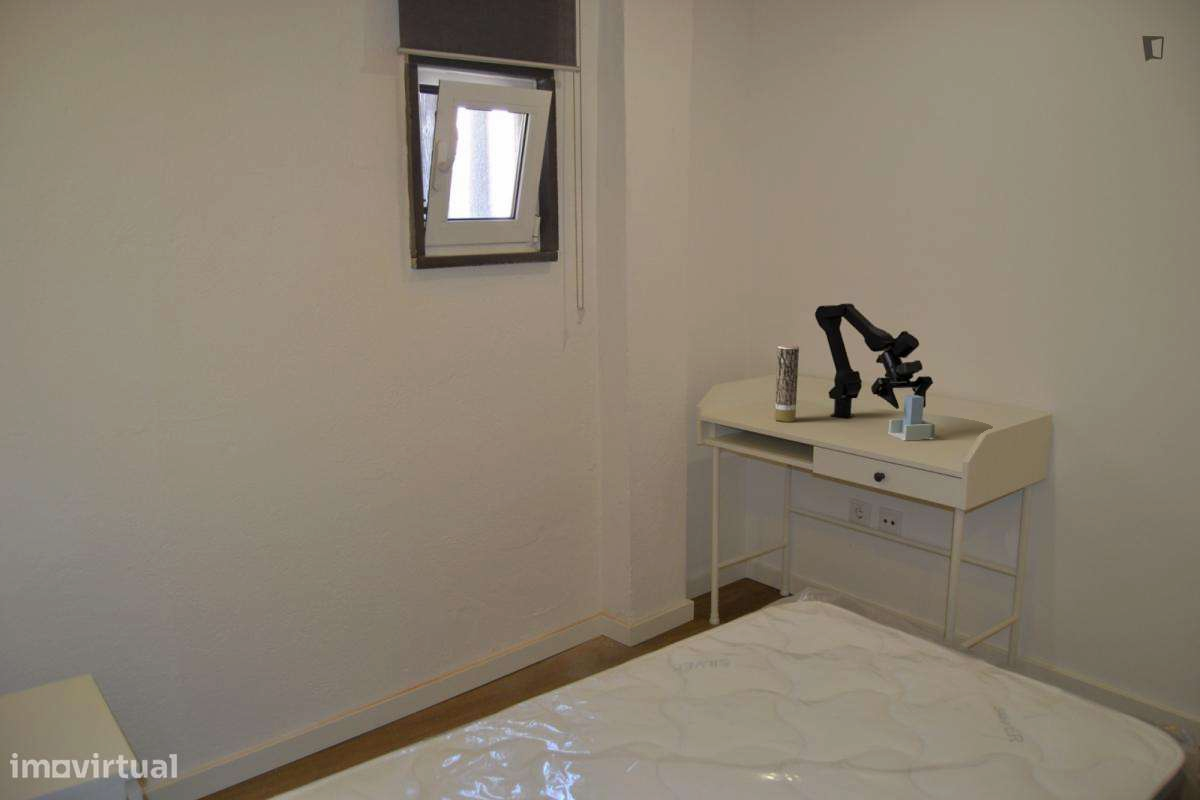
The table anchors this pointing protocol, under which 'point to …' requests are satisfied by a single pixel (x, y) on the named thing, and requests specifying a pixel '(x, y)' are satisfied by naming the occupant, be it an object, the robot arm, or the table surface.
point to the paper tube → (786, 383)
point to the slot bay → (911, 430)
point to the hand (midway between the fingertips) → (911, 407)
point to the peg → (912, 410)
